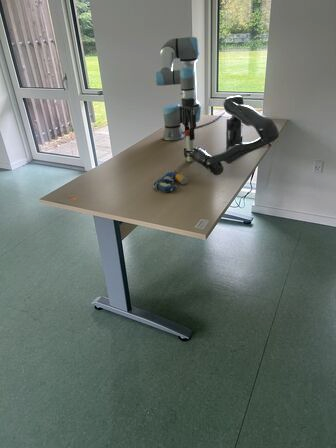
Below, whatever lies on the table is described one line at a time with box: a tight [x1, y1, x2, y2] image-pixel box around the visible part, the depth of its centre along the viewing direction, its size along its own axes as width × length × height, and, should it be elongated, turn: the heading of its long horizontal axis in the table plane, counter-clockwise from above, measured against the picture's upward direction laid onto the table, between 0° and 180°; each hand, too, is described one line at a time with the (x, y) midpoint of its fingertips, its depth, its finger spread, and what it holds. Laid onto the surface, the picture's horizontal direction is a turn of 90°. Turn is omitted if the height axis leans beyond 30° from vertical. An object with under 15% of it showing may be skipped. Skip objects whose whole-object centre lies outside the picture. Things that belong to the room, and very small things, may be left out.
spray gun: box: [152, 170, 188, 193], centre depth 177 cm, size 21×4×15 cm
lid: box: [184, 129, 190, 136], centre depth 198 cm, size 5×6×2 cm
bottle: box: [185, 136, 195, 163], centre depth 202 cm, size 5×5×18 cm
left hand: (189, 138), depth 200 cm, fingers closed on lid, 5 cm apart
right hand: (188, 148), depth 205 cm, fingers closed on bottle, 4 cm apart
